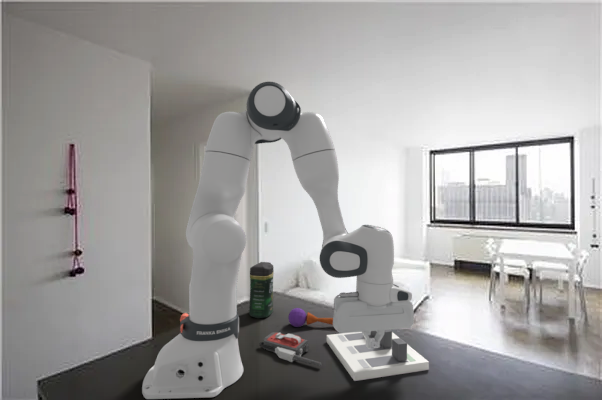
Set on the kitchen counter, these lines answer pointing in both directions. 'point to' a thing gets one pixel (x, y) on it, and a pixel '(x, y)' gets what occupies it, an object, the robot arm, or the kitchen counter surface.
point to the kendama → (305, 318)
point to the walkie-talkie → (287, 347)
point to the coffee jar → (261, 290)
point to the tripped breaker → (399, 349)
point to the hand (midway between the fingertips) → (372, 347)
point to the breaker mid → (386, 339)
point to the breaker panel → (372, 357)
